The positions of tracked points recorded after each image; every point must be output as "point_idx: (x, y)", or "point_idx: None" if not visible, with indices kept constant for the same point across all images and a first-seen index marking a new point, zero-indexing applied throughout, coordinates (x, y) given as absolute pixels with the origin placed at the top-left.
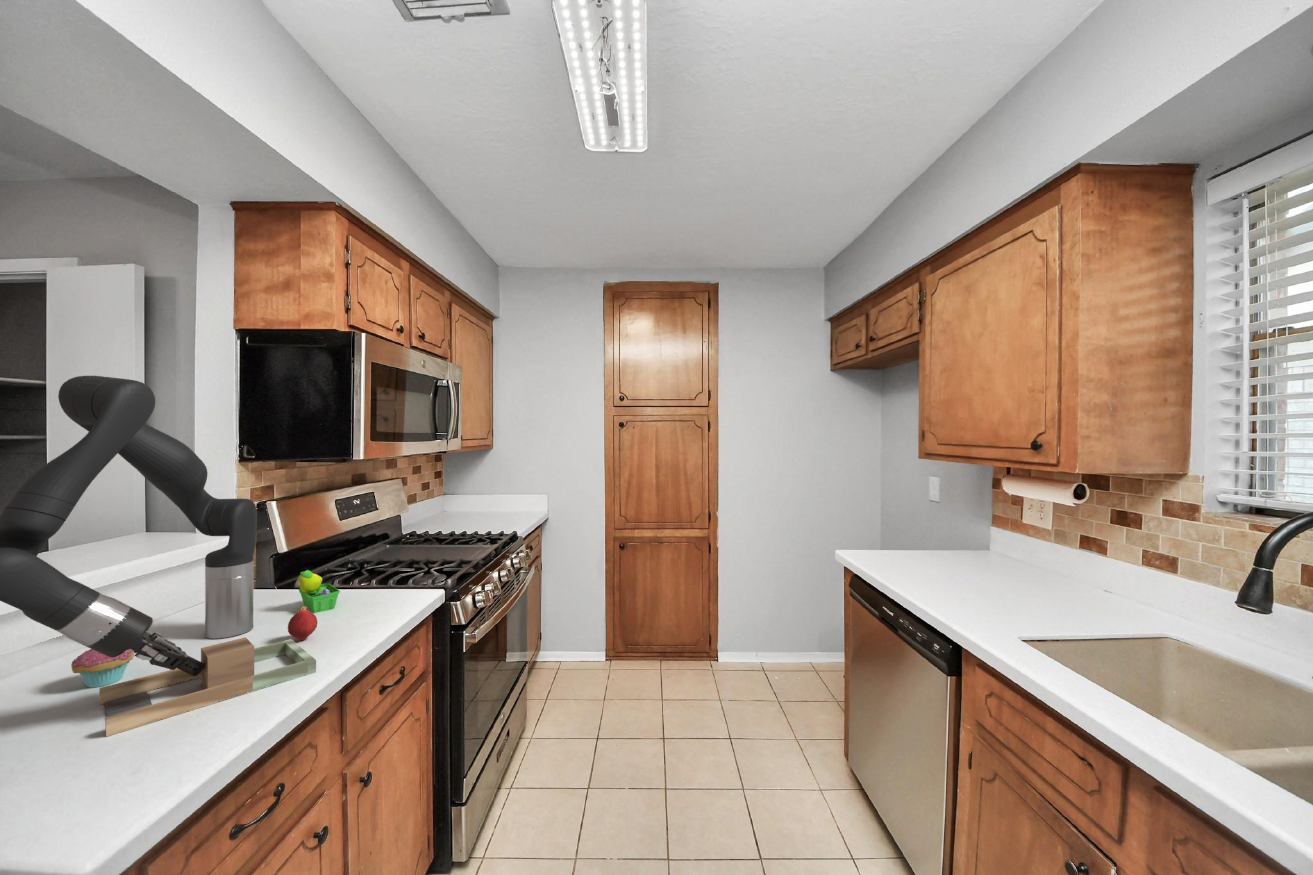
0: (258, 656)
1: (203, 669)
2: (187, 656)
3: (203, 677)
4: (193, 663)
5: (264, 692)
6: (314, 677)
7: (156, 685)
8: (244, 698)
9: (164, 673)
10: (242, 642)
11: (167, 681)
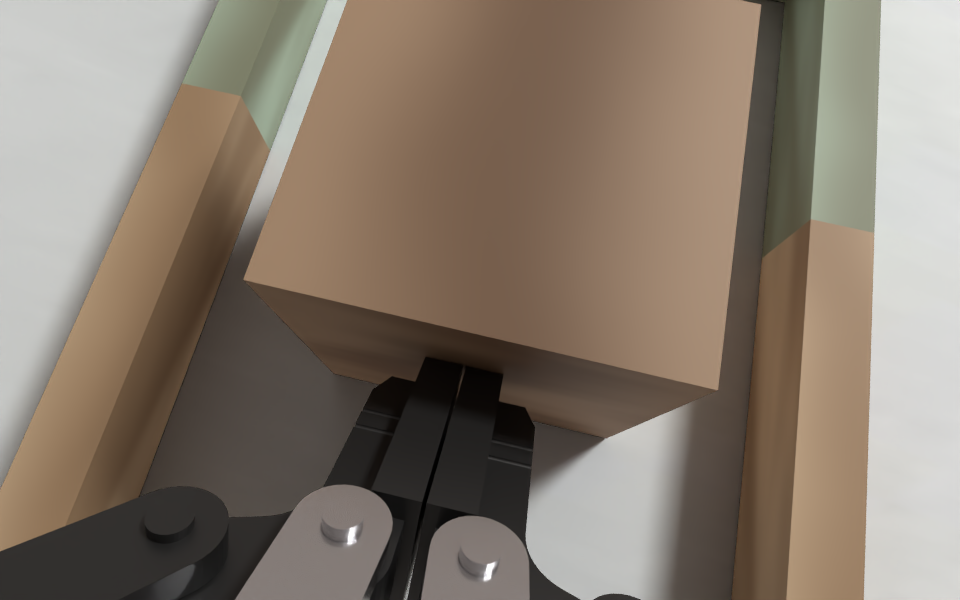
0: (306, 7)
1: None
2: (513, 537)
3: None
4: (528, 478)
5: (891, 242)
6: (906, 16)
7: None
8: (884, 342)
9: None
10: (522, 4)
11: None
